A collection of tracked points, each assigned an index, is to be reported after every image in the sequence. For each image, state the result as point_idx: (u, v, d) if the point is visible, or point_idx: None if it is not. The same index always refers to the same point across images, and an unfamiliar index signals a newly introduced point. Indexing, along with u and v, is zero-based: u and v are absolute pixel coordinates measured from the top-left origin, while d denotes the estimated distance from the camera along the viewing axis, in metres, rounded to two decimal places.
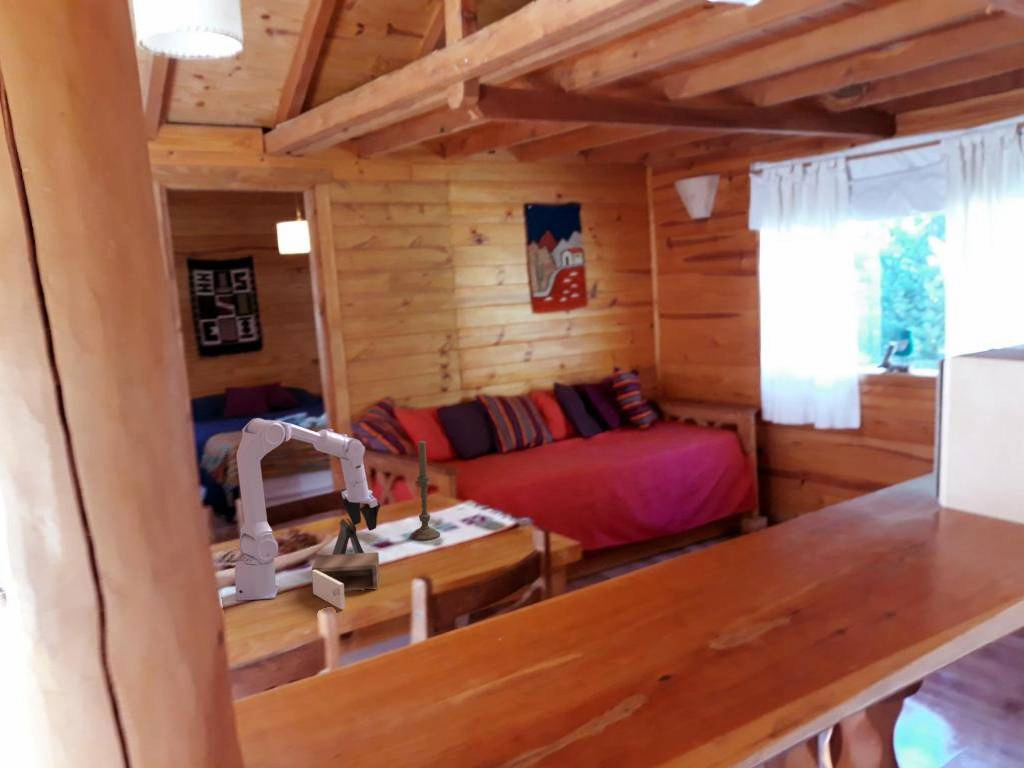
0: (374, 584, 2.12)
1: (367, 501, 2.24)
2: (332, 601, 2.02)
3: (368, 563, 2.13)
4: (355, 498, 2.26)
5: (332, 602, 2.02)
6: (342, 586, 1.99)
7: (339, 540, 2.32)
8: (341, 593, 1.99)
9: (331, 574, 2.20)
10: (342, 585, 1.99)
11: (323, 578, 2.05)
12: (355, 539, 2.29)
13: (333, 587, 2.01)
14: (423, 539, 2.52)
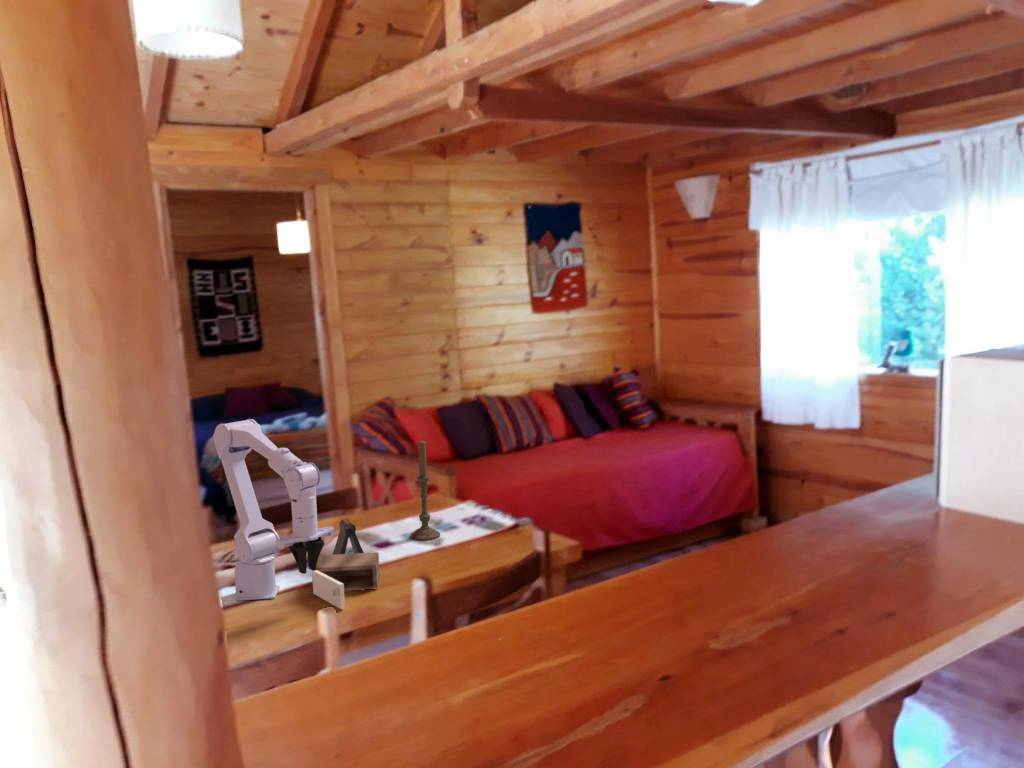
0: (374, 584, 2.12)
1: None
2: (332, 601, 2.02)
3: (368, 563, 2.13)
4: None
5: (332, 602, 2.02)
6: (342, 586, 1.99)
7: (338, 540, 2.32)
8: (341, 593, 1.99)
9: (331, 574, 2.20)
10: (342, 585, 1.99)
11: (323, 578, 2.05)
12: (354, 538, 2.30)
13: (333, 587, 2.01)
14: (423, 539, 2.52)
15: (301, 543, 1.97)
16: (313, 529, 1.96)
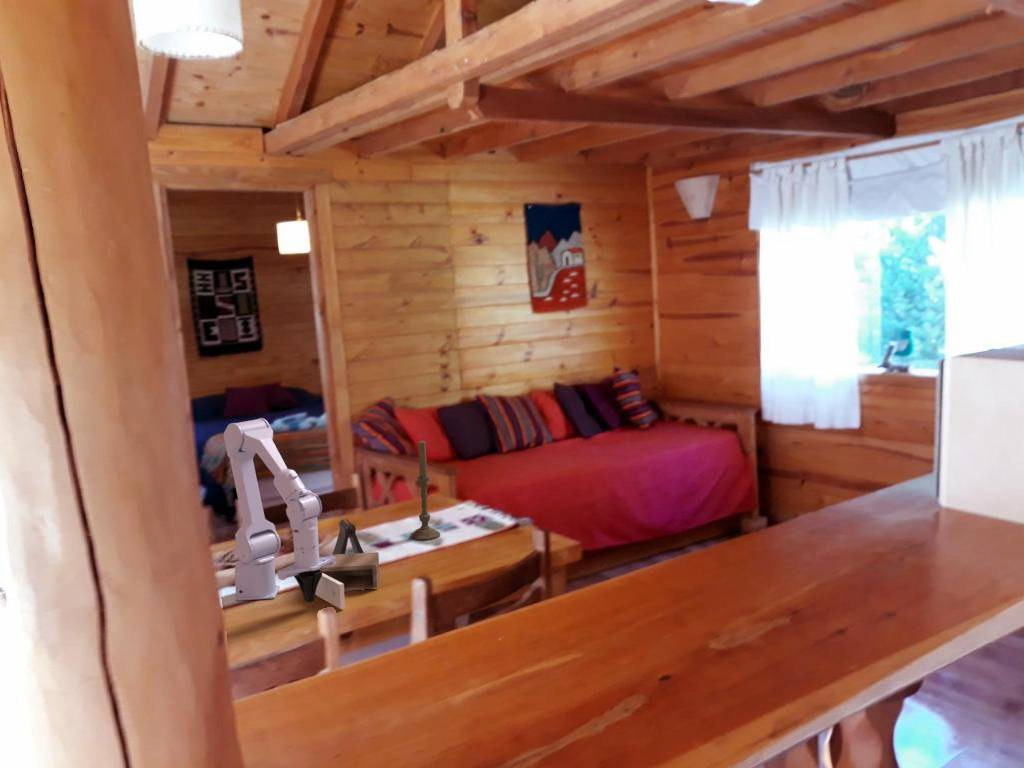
0: (374, 584, 2.12)
1: None
2: (332, 601, 2.02)
3: (368, 563, 2.13)
4: None
5: (332, 602, 2.02)
6: (342, 586, 1.99)
7: (338, 540, 2.32)
8: (341, 593, 1.99)
9: (331, 574, 2.20)
10: (342, 585, 1.99)
11: (323, 578, 2.05)
12: (354, 538, 2.30)
13: (333, 587, 2.01)
14: (423, 539, 2.52)
15: (303, 573, 1.98)
16: (314, 560, 1.97)
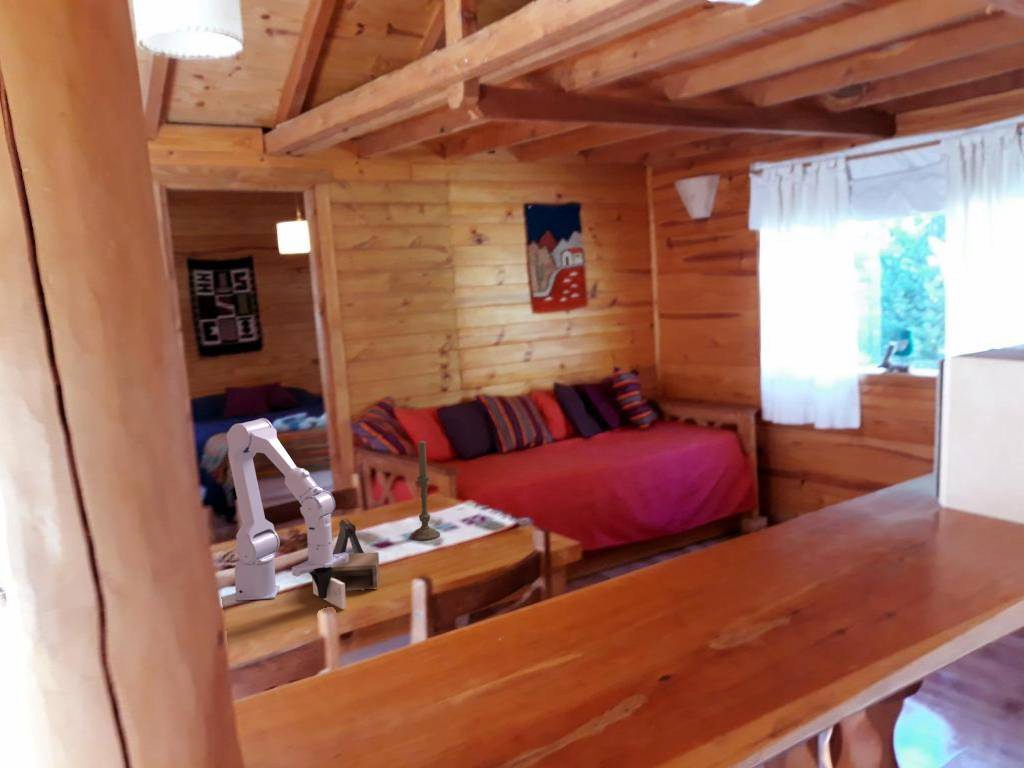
0: (374, 584, 2.12)
1: None
2: (333, 601, 2.02)
3: (368, 563, 2.13)
4: None
5: (333, 602, 2.02)
6: (343, 586, 1.99)
7: (338, 540, 2.32)
8: (342, 593, 1.99)
9: None
10: (343, 585, 1.99)
11: None
12: (354, 538, 2.30)
13: (334, 587, 2.01)
14: (423, 539, 2.52)
15: (316, 570, 2.00)
16: (328, 556, 2.00)
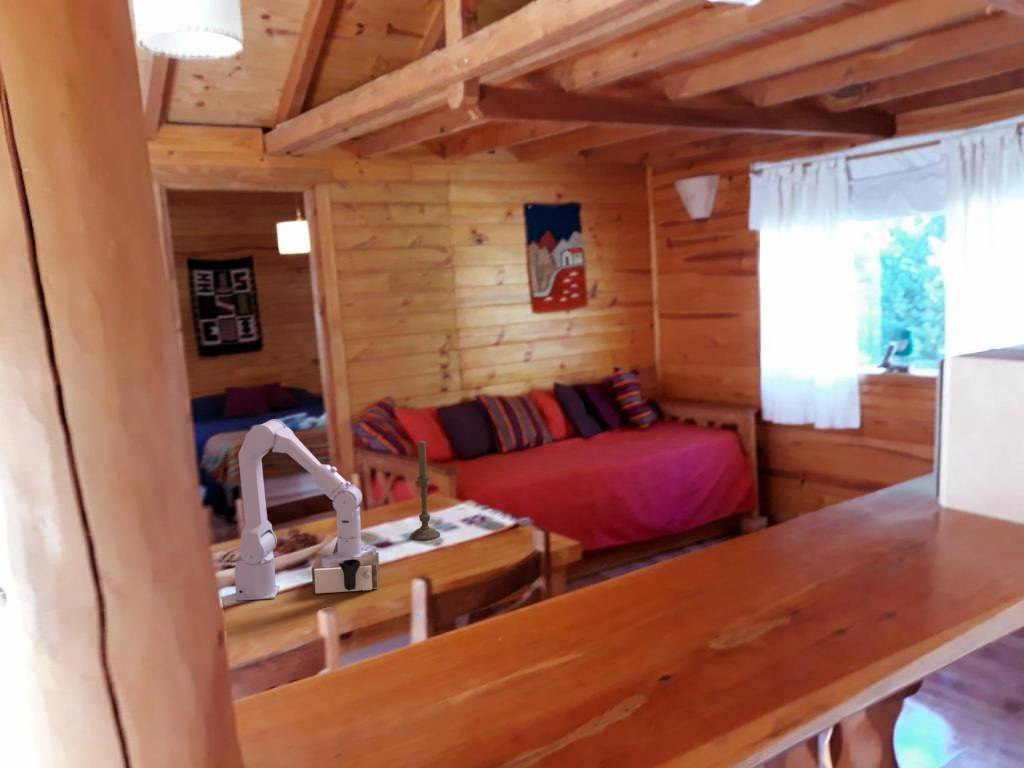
0: (374, 584, 2.12)
1: None
2: (355, 587, 2.11)
3: (368, 563, 2.13)
4: None
5: (355, 588, 2.11)
6: (371, 568, 2.11)
7: None
8: (371, 574, 2.11)
9: None
10: None
11: (338, 570, 2.10)
12: None
13: (358, 573, 2.10)
14: (423, 539, 2.52)
15: (345, 562, 2.06)
16: (357, 549, 2.06)
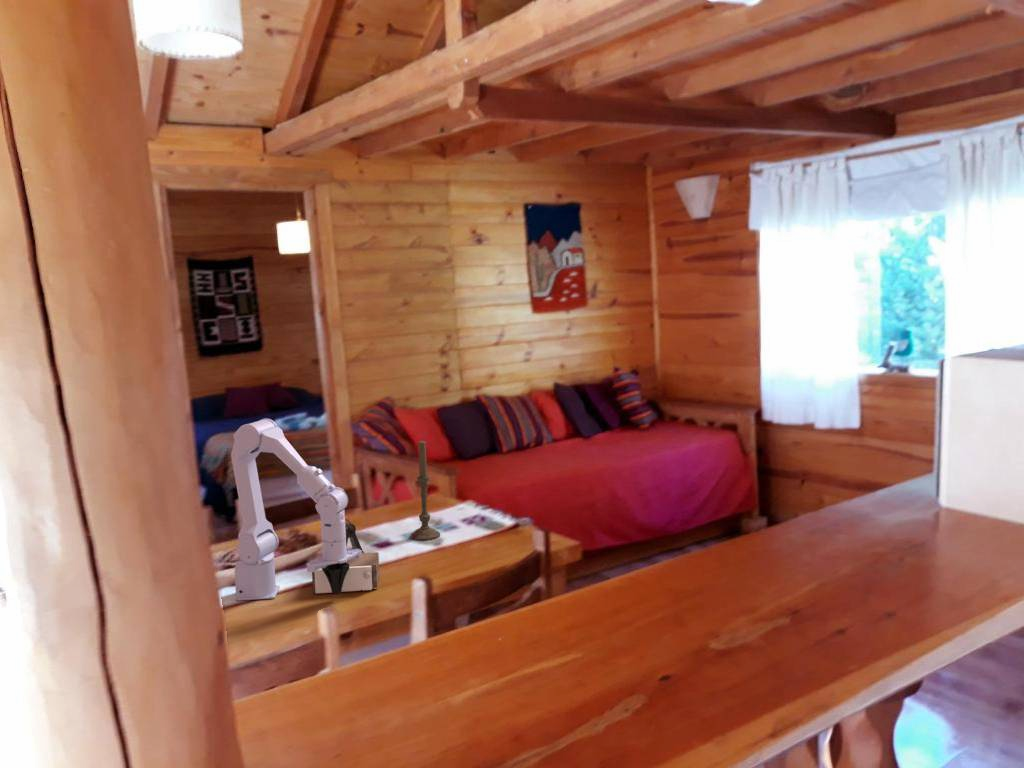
0: (374, 584, 2.12)
1: None
2: (355, 587, 2.11)
3: (368, 563, 2.13)
4: None
5: (355, 588, 2.11)
6: (371, 568, 2.11)
7: None
8: (371, 574, 2.11)
9: None
10: None
11: None
12: (354, 538, 2.30)
13: (358, 573, 2.10)
14: (423, 539, 2.52)
15: (331, 566, 2.03)
16: (342, 553, 2.03)
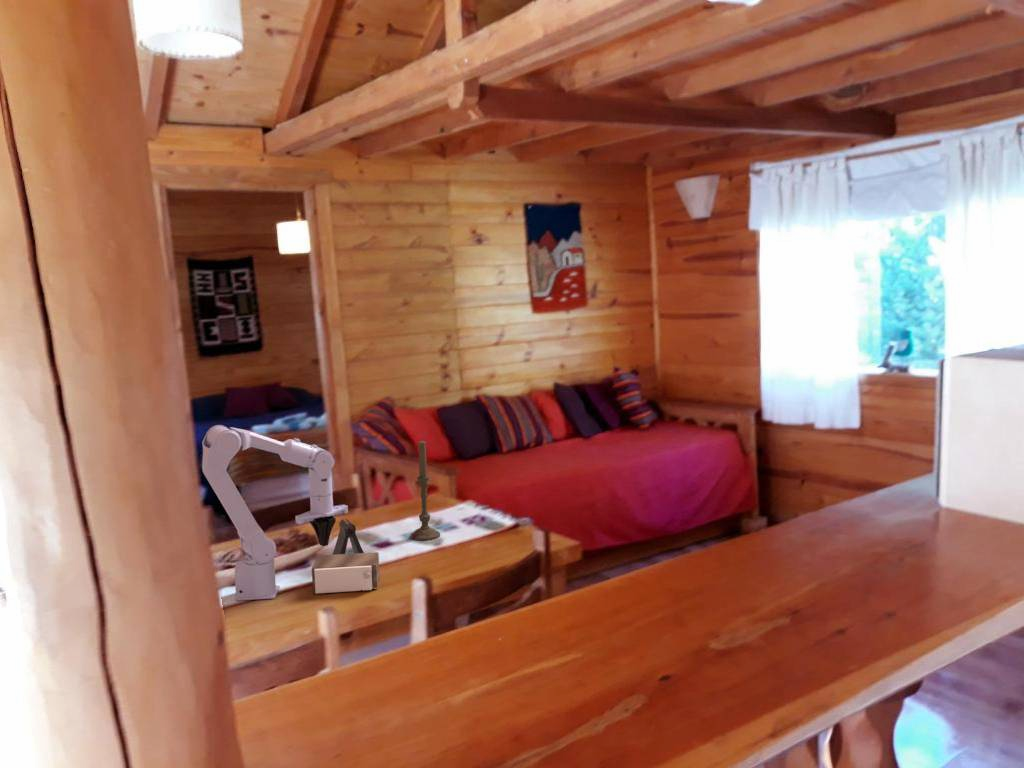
0: (374, 584, 2.12)
1: None
2: (355, 587, 2.11)
3: (368, 563, 2.13)
4: None
5: (355, 588, 2.11)
6: (371, 568, 2.11)
7: (338, 540, 2.32)
8: (371, 574, 2.11)
9: None
10: None
11: (338, 570, 2.10)
12: (354, 538, 2.30)
13: (358, 573, 2.10)
14: (423, 539, 2.52)
15: (318, 519, 2.17)
16: (329, 506, 2.16)
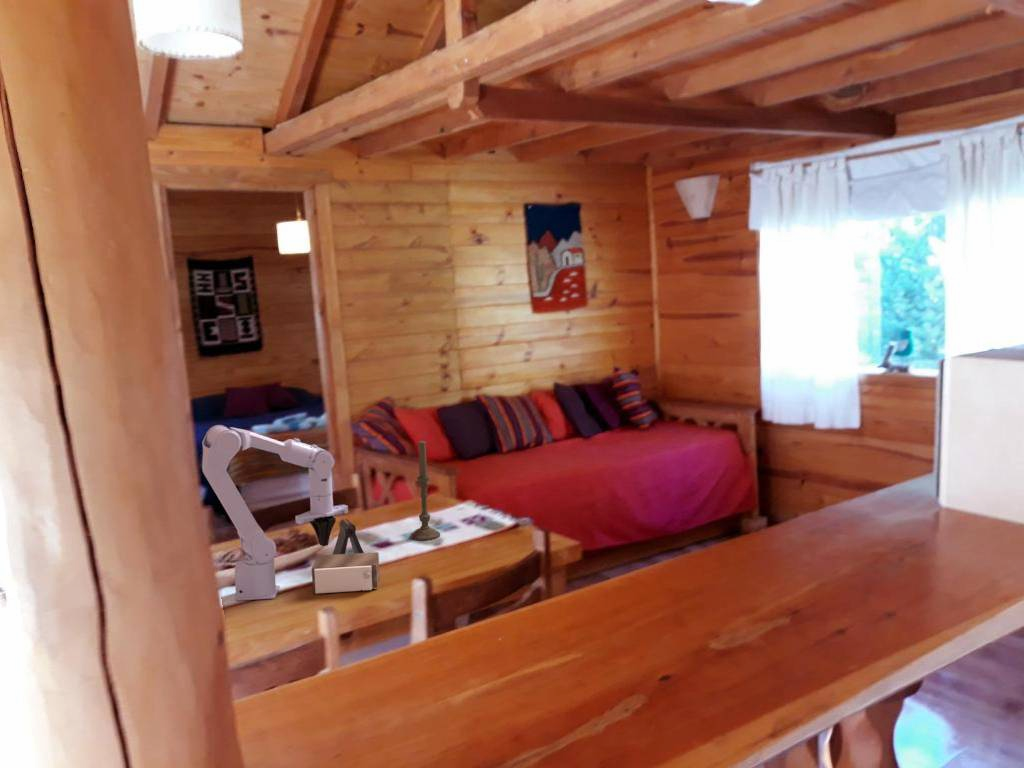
0: (374, 584, 2.12)
1: None
2: (355, 587, 2.11)
3: (368, 563, 2.13)
4: None
5: (355, 588, 2.11)
6: (371, 568, 2.11)
7: (338, 540, 2.32)
8: (371, 574, 2.11)
9: None
10: None
11: (338, 570, 2.10)
12: (354, 538, 2.30)
13: (358, 573, 2.10)
14: (423, 539, 2.52)
15: (318, 519, 2.17)
16: (329, 506, 2.16)
